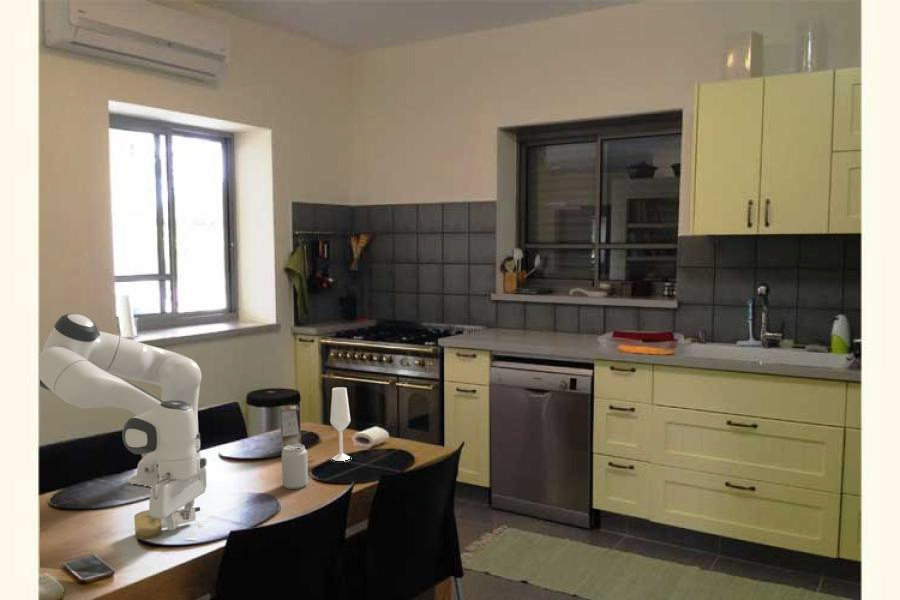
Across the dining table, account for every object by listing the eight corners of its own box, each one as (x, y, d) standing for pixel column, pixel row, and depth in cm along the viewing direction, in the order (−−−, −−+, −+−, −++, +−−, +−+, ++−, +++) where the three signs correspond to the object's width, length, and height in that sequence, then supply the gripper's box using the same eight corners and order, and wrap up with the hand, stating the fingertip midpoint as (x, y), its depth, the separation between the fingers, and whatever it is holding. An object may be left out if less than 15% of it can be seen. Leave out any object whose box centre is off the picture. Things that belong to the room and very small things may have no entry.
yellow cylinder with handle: (138, 541, 165) (137, 521, 165) (132, 533, 170) (131, 513, 169) (203, 525, 174) (203, 506, 174) (196, 518, 179) (195, 499, 179)
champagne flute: (337, 455, 238) (335, 386, 237) (355, 457, 236) (353, 387, 234) (327, 460, 232) (325, 390, 230) (345, 462, 230) (343, 391, 228)
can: (302, 490, 203) (300, 450, 202) (278, 489, 204) (276, 449, 204) (312, 482, 210) (310, 443, 209) (289, 481, 212) (287, 442, 211)
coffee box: (301, 455, 238) (300, 409, 237) (282, 457, 237) (281, 411, 235) (299, 448, 247) (298, 404, 246) (281, 450, 245) (279, 405, 244)
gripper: (166, 481, 158) (168, 540, 159) (210, 456, 178) (212, 509, 179) (140, 480, 159) (143, 539, 160) (187, 456, 179) (189, 508, 180)
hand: (180, 523), depth 169 cm, fingers open, 5 cm apart
